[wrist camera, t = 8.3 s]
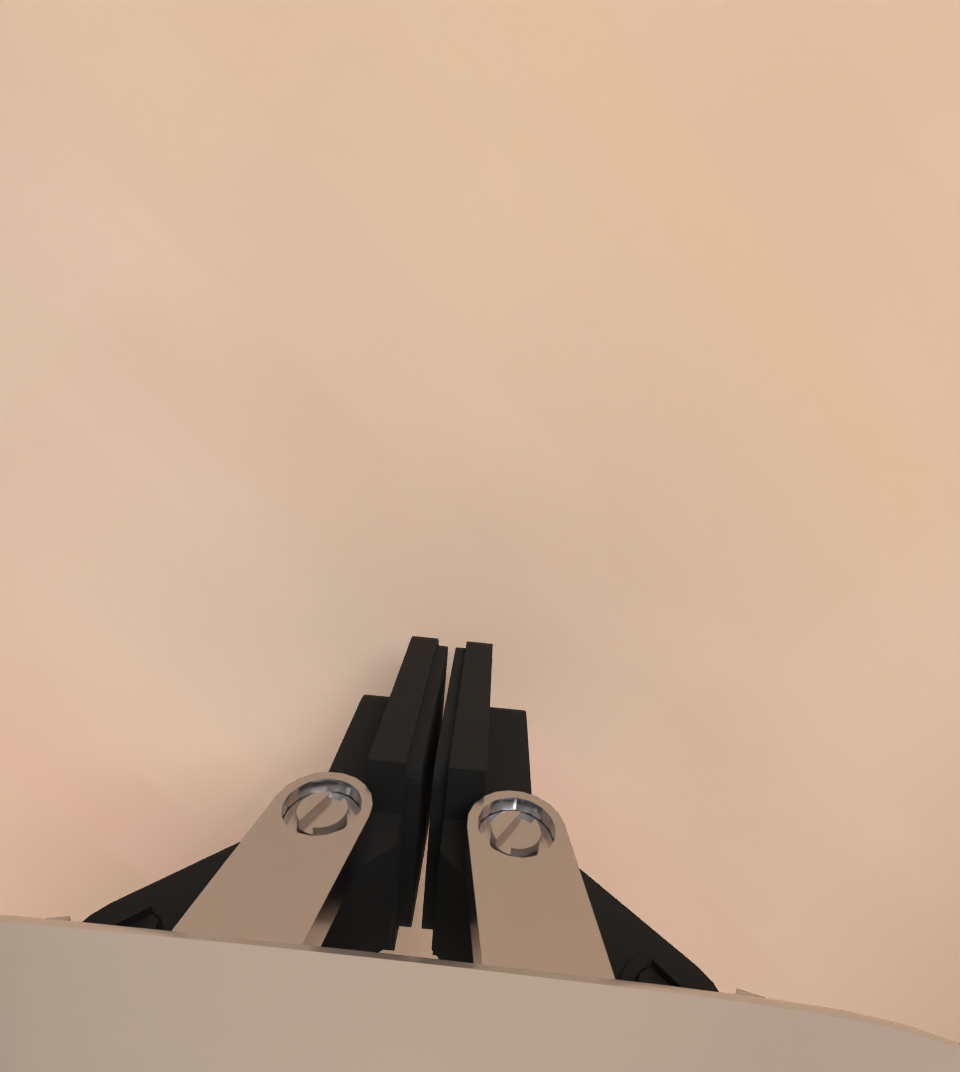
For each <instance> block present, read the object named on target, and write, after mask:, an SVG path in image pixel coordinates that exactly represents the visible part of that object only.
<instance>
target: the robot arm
mask: <svg viewBox="0 0 960 1072" xmlns="http://www.w3.org/2000/svg"><path fill="white" fill-rule="evenodd" d="M492 647H493V644H487V643H477V642H467V644H466V648H456V649H455V655H454V660H453V666H452V671H451V677H450V682H449V688H448V693H447V699H446V704H445V710H444V715H443V706H444V693H445V680H446V667H447V655H448V647H446V646H439V640H438V639H436V638H426V637H416V636H412V638H411V641H410V643H409V646H408V649H407V652H406V654H405V657H404V660H403V663H402V665H401V668H400V671H399V674H398V676H397V679H396V682H395V685H394V687H393V690H392V693H391V696H390V697H384V696H374V695H364V696H363V697H362V699H361V701H360V703H359V706H358V708H357V710H356V712H355V714H354V717H353V719H352V721H351V723H350V725H349V728H348V730H347V732H346V734H345V737H344V739H343V741H342V743H341V745H340V748H339V750H338V752H337V754H336V757H335V759H334V761H333V763H332V765H331V768H330V770H329V772H324V773H315V774H311V775H308V776H305V777H302V778H299V779H298V780H296V781H294V782H292V783H291V784H289V785H287V786H286V787H285V788H284V789H283V790H282V791H281V792H280V793H279V794H278V795H277V796H276V797H275V798H274V800H273V801H272V802H271V803H270V805H269V806H268V807H267V809H266V810H265V811H264V812H263V814H262V815H261V816H260V818H259V819H258V820H257V821H256V823H255V824H254V825H253V827H252V828H251V829H250V830H249V832H248V833H247V834H246V836H245V837H244V838H243V839H242V841H241V842H239V843H237V844H235V845H232V846H230V847H228V848H226V849H224V850H222V851H220V852H218V853H216V854H213V855H211V856H209V857H207V858H205V859H203V860H201V861H199V862H197V863H195V864H192V865H190V866H188V867H186V868H184V869H182V870H180V871H178V872H176V873H173V874H171V875H169V876H167V877H165V878H163V879H161V880H159V881H157V882H154V883H152V884H150V885H148V886H146V887H144V888H142V889H140V890H138V891H135V892H133V893H131V894H129V895H127V896H125V897H123V898H121V899H119V900H117V901H114V902H112V903H110V904H109V905H107V906H105V907H104V908H102V909H100V910H98V911H97V912H95V913H93V914H92V915H90V916H89V917H88V918H87V919H85V920H84V921H83V922H75V921H71V920H70V916H66V917H56V918H46V919H43V918H32V917H21V916H11V915H0V1072H960V1043H957V1042H954V1041H951V1040H948V1039H945V1038H942V1037H939V1036H936V1035H933V1034H930V1033H927V1032H924V1031H921V1030H918V1029H915V1028H912V1027H910V1026H907V1025H904V1024H899V1023H895V1022H891V1021H887V1020H883V1019H878V1018H874V1017H870V1016H866V1015H862V1014H858V1013H854V1012H850V1011H844V1010H838V1009H831V1008H825V1007H819V1006H812V1005H806V1004H800V1003H793V1002H787V1001H781V1000H775V999H768V998H765V997H762V996H759V995H756V994H753V993H750V992H747V991H744V990H741V989H738V988H737V989H736V993H735V994H731V993H723V992H719V991H718V990H717V988H716V987H715V985H714V983H713V982H712V981H711V980H710V979H709V978H708V977H707V976H706V975H705V974H704V973H703V972H702V971H701V970H700V969H699V968H698V967H697V966H696V965H695V964H694V963H692V962H691V961H690V960H689V959H688V958H686V957H685V956H684V955H683V954H682V953H680V952H679V951H678V950H677V949H676V948H674V947H673V946H672V945H671V944H670V943H668V942H667V941H666V940H665V939H664V938H662V937H661V936H660V935H659V934H658V933H656V932H655V931H654V930H653V929H652V928H650V927H649V926H648V925H647V924H646V923H644V922H643V921H642V920H641V919H640V918H638V917H637V916H636V915H635V914H634V913H632V912H631V911H630V910H629V909H628V908H626V907H625V906H624V905H623V904H622V903H620V902H619V901H618V900H617V899H616V898H614V897H613V896H612V895H611V894H610V893H608V892H607V891H606V890H605V889H604V888H602V887H601V886H600V885H599V884H598V883H596V882H595V881H594V880H593V879H592V878H590V877H589V876H588V875H587V874H586V873H584V872H583V871H582V870H581V869H580V868H579V867H578V864H577V861H576V858H575V854H574V851H573V848H572V845H571V842H570V839H569V836H568V833H567V830H566V827H565V824H564V822H563V821H562V819H561V817H560V815H559V813H558V812H557V811H556V810H555V809H554V808H553V807H552V806H551V805H550V804H548V803H547V802H545V801H543V800H542V799H540V798H539V797H537V796H534V795H532V794H531V779H530V763H529V748H528V733H527V717H526V711H524V710H514V709H504V708H494V707H490V691H491V669H492ZM442 718H443V720H442ZM429 821H430V825H429ZM428 827H429V838H428V851H427V864H426V877H425V891H424V904H423V917H422V928H423V929H432V930H433V939H432V951H433V955H436V956H437V957H438V958H439V959H440V960H439V959H430V958H421V957H412V956H403V955H394V954H385V953H379V952H380V951H381V950H393V951H394V949H395V944H396V939H397V934H398V929H399V926H404V927H411V926H412V921H413V915H414V909H415V904H416V898H417V892H418V886H419V880H420V874H421V868H422V863H423V857H424V851H425V845H426V839H427V833H428Z"/></svg>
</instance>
